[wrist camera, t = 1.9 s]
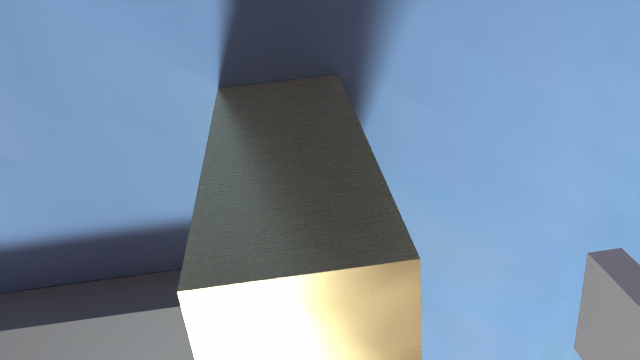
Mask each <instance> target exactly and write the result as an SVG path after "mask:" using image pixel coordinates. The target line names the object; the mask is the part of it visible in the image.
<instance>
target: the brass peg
mask: <svg viewBox="0 0 640 360" xmlns="http://www.w3.org/2000/svg"><path fill="white" fill-rule="evenodd" d="M177 293H178V297H179V301H180V305H181V308H182V312H183V316H184V320H185V324H186V327H187V331H188V335H189V339H190V342H191V346H192V350H193V354H194V358H195V360H422V351H421V280H420V257H419V255H418V253H417V251H416V248H415V246H414V244H413V242H412V239H411V237H410V235H409V233H408V230H407V228H406V226H405V224H404V221H403V219H402V217H401V215H400V212H399V210H398V208H397V206H396V203H395V201H394V199H393V197H392V194H391V192H390V190H389V188H388V185H387V183H386V181H385V179H384V176H383V174H382V172H381V170H380V167H379V165H378V163H377V161H376V158H375V156H374V154H373V152H372V149H371V147H370V145H369V143H368V140H367V138H366V136H365V134H364V131H363V129H362V127H361V125H360V122H359V120H358V118H357V116H356V113H355V111H354V109H353V107H352V104H351V102H350V100H349V98H348V95H347V93H346V91H345V89H344V86H343V84H342V82H341V80H340V77H339V75H338V74H336V75H328V76H319V77H311V78H303V79H294V80H286V81H278V82H270V83H261V84H253V85H245V86H237V87H228V88H220V89H218V91H217V96H216V101H215V106H214V111H213V116H212V121H211V126H210V131H209V136H208V141H207V146H206V151H205V156H204V161H203V166H202V171H201V176H200V181H199V186H198V191H197V196H196V201H195V206H194V211H193V216H192V221H191V226H190V231H189V236H188V241H187V246H186V251H185V256H184V261H183V266H182V271H181V276H180V281H179V286H178V291H177Z"/></svg>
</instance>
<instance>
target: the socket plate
mask: <svg viewBox="0 0 640 360" xmlns="http://www.w3.org/2000/svg"><path fill="white" fill-rule="evenodd" d="M181 271H182V269H181V270H173V271H166V272H159V273H151V274H144V275H136V276H129V277H122V278H114V279H107V280H99V281H92V282H85V283H77V284H70V285H62V286H55V287H48V288H40V289H33V290H25V291H18V292H11V293H3V294H0V360H195V358H194V354H193V350H192V346H191V342H190V339H189V335H188V331H187V327H186V324H185V320H184V316H183V312H182V308H181V305H180V301H179V297H178V293H177V291H178V286H179V281H180V276H181Z"/></svg>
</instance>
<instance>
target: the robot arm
mask: <svg viewBox="0 0 640 360" xmlns="http://www.w3.org/2000/svg"><path fill="white" fill-rule="evenodd" d="M574 349H575V350H576V352H577V353H578V354H579V356H580V357H581V358H582V360H640V265H639V264H638V263H637V262H636V261H635V260H634V259H632V258H631V257H630V256H629V255H628V254H627V253H626V252H625V251H624V250H623V249H622V248H619V249H612V250H605V251H598V252H591V253H588V255H587V261H586V268H585V275H584V282H583V289H582V296H581V303H580V310H579V317H578V324H577V331H576V338H575V345H574Z"/></svg>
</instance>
